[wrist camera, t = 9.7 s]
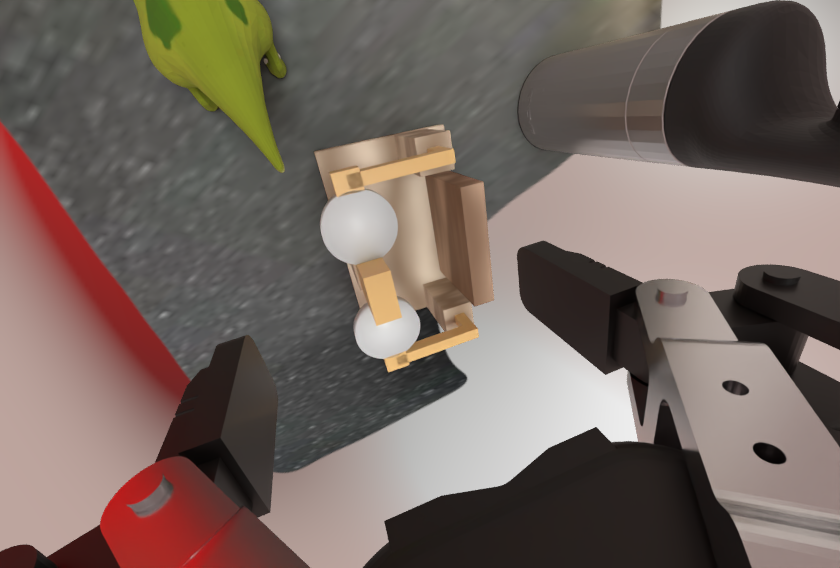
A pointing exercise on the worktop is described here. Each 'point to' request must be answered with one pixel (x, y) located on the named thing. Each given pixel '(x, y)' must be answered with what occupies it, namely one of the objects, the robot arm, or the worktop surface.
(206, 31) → the toy
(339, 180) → the glasses
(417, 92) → the worktop surface
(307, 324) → the worktop surface
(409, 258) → the display stand
